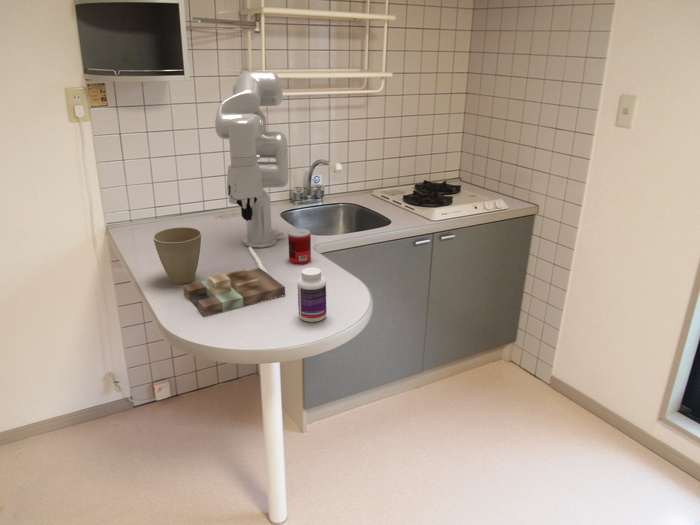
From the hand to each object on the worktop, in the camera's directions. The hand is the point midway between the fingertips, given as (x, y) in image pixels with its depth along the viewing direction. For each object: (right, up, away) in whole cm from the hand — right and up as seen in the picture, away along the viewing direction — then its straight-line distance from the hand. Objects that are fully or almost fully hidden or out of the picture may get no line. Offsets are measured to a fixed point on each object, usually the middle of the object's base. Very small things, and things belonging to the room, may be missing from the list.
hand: (247, 219), depth 177 cm
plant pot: (-24, -19, +11) cm, 32 cm away
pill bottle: (+21, -29, -12) cm, 38 cm away
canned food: (+14, -13, +28) cm, 34 cm away
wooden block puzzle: (-4, -24, +1) cm, 24 cm away
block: (-8, -22, -3) cm, 23 cm away
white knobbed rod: (-2, -14, +27) cm, 31 cm away
